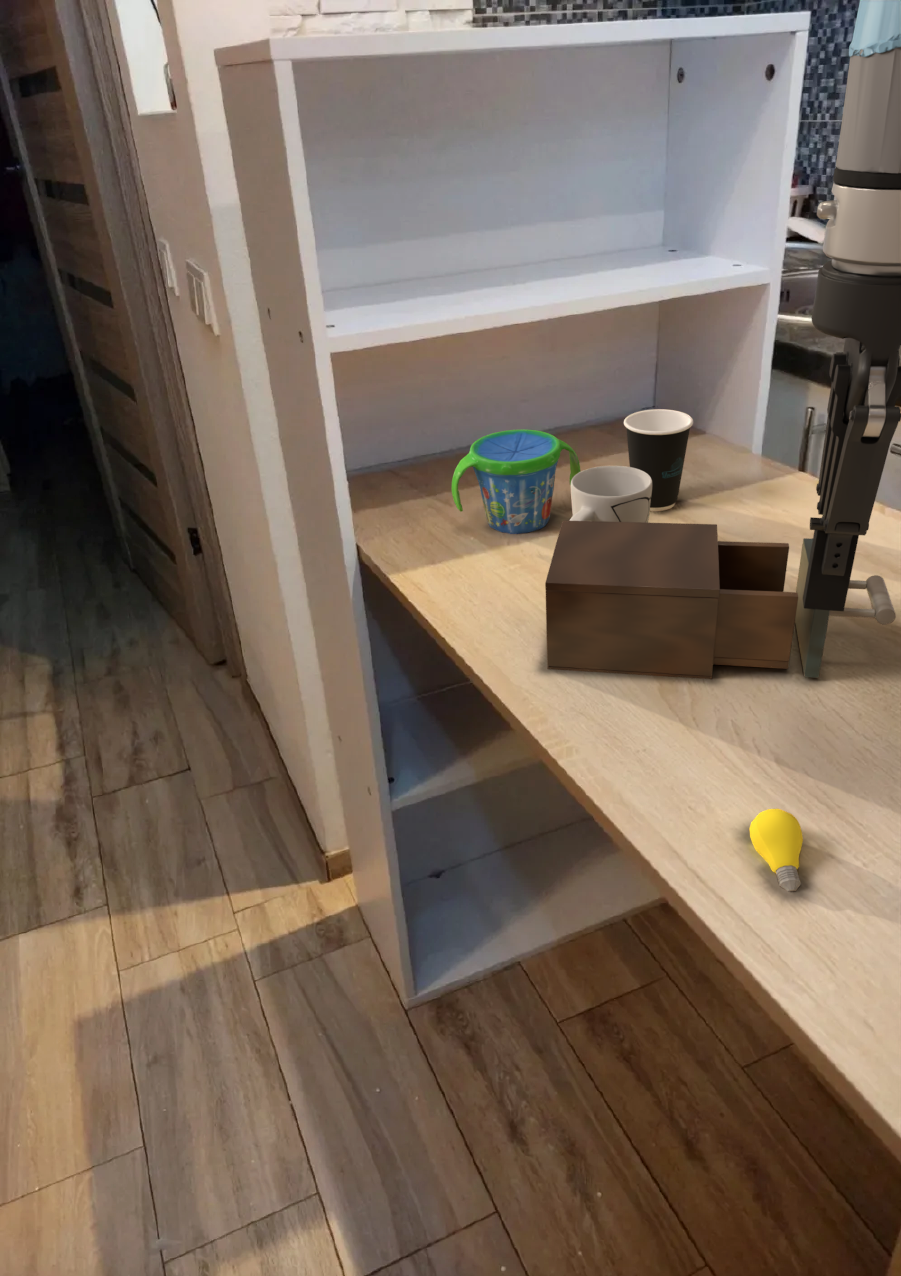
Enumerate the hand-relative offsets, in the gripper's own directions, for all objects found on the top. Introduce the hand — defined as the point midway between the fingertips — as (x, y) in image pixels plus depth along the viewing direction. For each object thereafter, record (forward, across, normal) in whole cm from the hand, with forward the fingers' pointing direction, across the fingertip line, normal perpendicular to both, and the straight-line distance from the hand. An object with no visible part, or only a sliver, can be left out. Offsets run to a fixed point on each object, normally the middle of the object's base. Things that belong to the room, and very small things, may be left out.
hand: (822, 604), depth 68 cm
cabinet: (+13, -14, -14) cm, 24 cm away
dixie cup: (+13, -45, -14) cm, 49 cm away
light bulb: (+13, +14, -2) cm, 19 cm away
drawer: (+12, -14, -2) cm, 18 cm away
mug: (+13, -27, -19) cm, 36 cm away
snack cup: (+14, -38, -30) cm, 50 cm away
